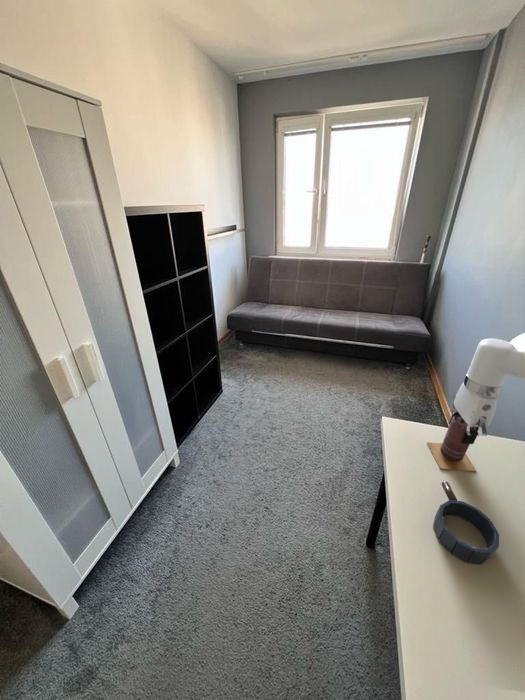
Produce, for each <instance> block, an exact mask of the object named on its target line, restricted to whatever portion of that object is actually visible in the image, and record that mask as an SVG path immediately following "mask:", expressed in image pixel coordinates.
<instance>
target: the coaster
mask: <svg viewBox="0 0 525 700" xmlns="http://www.w3.org/2000/svg"><path fill="white" fill-rule="evenodd" d="M427 443H428V445H427V446H428V448H429V450H430V453H431V454H432V457H433V458H434V460H435V463H436V464H437V466H438V469H439V470H445V471H446V470H447V471H457V472H458V471H459V472H475V473H476V472H477V469H476V468H475V466H474V464H473V463H472V461H471V460H470V458H469V457H468V455H467V453H465V455H464V457H463V459H462V460H461V461H451V460H449V459H447V458H445V457H444V456H443V455H442V453H441V451H440V448H441V445H442V443H443V442H430V441H429V442H426V444H427Z"/></svg>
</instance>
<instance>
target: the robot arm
mask: <svg viewBox="0 0 525 700" xmlns="http://www.w3.org/2000/svg"><path fill="white" fill-rule="evenodd" d="M507 376H510V377H513V378H516V379H519V380H522V381H525V332H524V333H521V334H520V335H518V336H516V337H514V338H513V339H512V340H510V341H508V340H504V339H500V338H493V337H492V338H491V337H490V338H485V339H482V340H480V341H479V343H478V345H477V347H476V349H475V353H474V354H473V358H472V360H471V363H470V365H469V367H468V370H467V373H466V375H465V378H464V379H463V382H462V384H461V385H460V387H459V389H458V390H457V392H456V395H453V396H452V400H453V403H452V407H453V409H452V410H451V413H452V414H451V417H450V420H449V422H448V425H450V423H451V420H452V418H453V417H454V416H456V415H458V414H460V415H461V417H462V418H463V419H464V421H465V422H466V423H467V432H464V434H463V436H462V439H461V441H460V442H461V443H462V444H470V445H474V444H475V442H476V439H477V437H480V436H481V437H487V436H488V428H489V427H490V425H491V423H492V420H493V418H494V415H495V412H496V409H497V406H498V400H499V399H498V394H499V392H500V390H501V388H502V386H503V384H504V381H505V379H506V377H507ZM472 427H476V429H475V431H472Z"/></svg>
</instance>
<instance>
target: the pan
mask: <svg viewBox="0 0 525 700" xmlns="http://www.w3.org/2000/svg"><path fill="white" fill-rule="evenodd" d="M441 487H442V489H443V491H444V493H445V495H446V497H447V499H448V500H447V501H445V502H443V503H441V504H440V505H439V508H438V510H437V512H436V513H435V516H434V518H433V519H434V520H433V524H432V529H433V531H434V533H435V536H436V538H437V540H438V542H439V543H440V544H441V545H442V546H443V548H445V550H446V551H447V552H448V553H449V554H451V555H452V556H453V557H455V558H457V559H459V560H460V561H462V562H464V563H467V564H474V565H484V564H485V563H486V562H488V561H489V560H490V559H491V558H492V557H493V556H494V554H495V553H496V551H498V549H499V547H500V533H499V532H498V529H497V528H496V526H495V524H494V523H493V521H492V520H491V519H490V518H489V517H488V516H487V515H486V514H485V513H484V512H482V511H481V510H480V509H479V508H477V507H475V506H473V505H472V504H469V503H467V502H465V501H462V500H459V499H457V497H456V495H455V492H454V491H453V489H452V487H451V485H450V483H449V482H448V481H446V480H443V481H441ZM444 516H457V517H459V518H460V519H463V520H464V521H467V522H469V523H470V524H471V525H472V526H473V527H474V528H475V529H476V530H477V531H478V532H479V533H480V534H481V536H482V538H483V540H484V542H485V543H486V548H481V547H480V548H479V547H473V546H471V545H469V544H467V543H465V542H463V541H462V540H459V539H458V537H456V535H454V533H452V531H451V530H450V529H449V528H448V526H447V525H446V521H445V520H444Z"/></svg>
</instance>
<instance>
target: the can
mask: <svg viewBox="0 0 525 700" xmlns="http://www.w3.org/2000/svg"><path fill="white" fill-rule="evenodd" d="M448 425H449V424H448ZM475 429H476V427H472V431H475ZM464 432H467V423H466V422H465V421H464V419H463V418H462V417H461V415H460V414H458V415H456V416H454V417H453V418H452V420H451V423H450V425H449V426H448V427H447V431H446V433H445V435H444V438H443V440H442V442H441V443H442V445H441V448H440V451H441V453H442V455H443V456H444V457H445V458H447V459H449V460H451V461H461V460H462V459H463V457H464V455H465V454H467V451H468V449H469V446H470V445H471V444H462V443H461V442H460V441H461V439H462V436H463V434H464Z"/></svg>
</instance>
